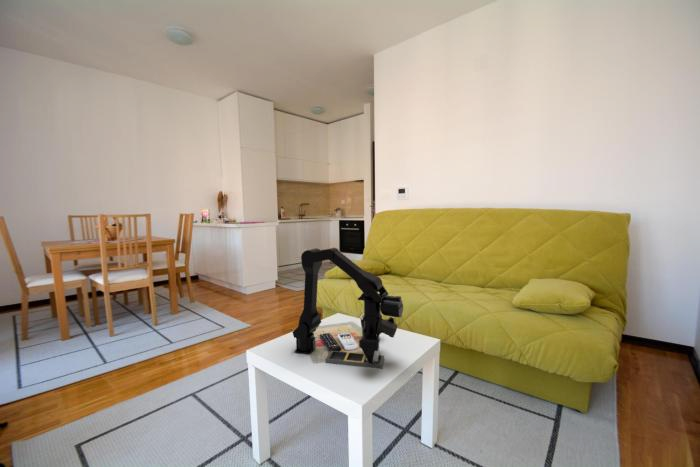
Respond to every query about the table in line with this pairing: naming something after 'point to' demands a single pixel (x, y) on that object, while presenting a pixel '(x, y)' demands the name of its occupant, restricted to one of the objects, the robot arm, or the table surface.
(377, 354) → the block
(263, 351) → the table surface
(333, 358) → the rail
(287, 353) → the table surface
